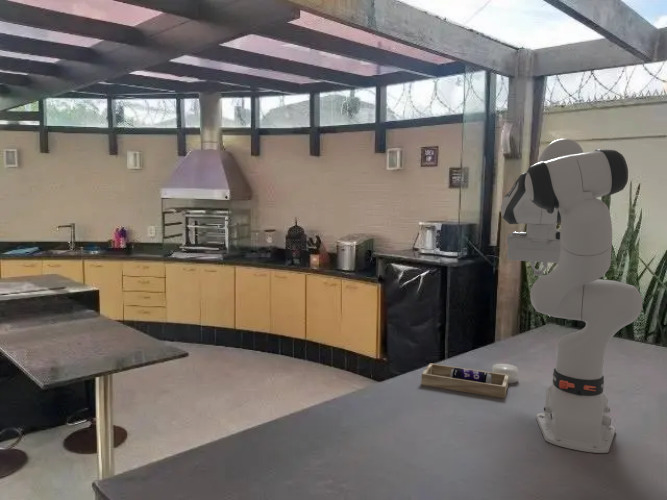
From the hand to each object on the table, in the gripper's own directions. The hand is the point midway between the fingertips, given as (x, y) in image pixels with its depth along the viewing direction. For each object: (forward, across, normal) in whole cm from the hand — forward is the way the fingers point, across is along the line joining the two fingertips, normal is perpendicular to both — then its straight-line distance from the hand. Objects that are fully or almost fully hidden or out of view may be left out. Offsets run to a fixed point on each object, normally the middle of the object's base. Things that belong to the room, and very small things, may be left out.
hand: (538, 275), depth 171 cm
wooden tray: (+34, -19, -18) cm, 43 cm away
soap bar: (+34, -8, -6) cm, 36 cm away
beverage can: (+31, -23, -20) cm, 44 cm away
